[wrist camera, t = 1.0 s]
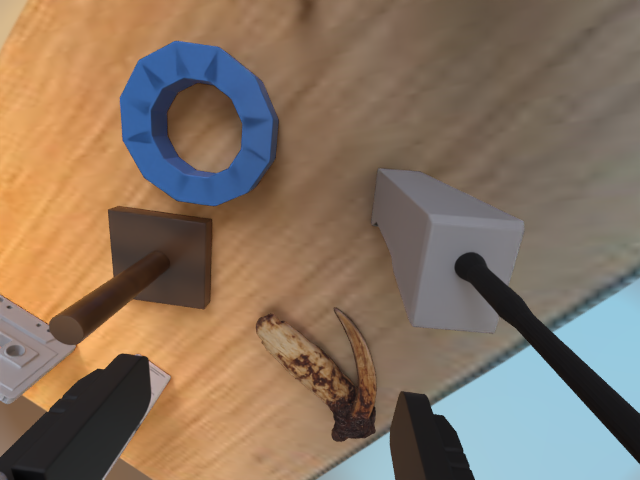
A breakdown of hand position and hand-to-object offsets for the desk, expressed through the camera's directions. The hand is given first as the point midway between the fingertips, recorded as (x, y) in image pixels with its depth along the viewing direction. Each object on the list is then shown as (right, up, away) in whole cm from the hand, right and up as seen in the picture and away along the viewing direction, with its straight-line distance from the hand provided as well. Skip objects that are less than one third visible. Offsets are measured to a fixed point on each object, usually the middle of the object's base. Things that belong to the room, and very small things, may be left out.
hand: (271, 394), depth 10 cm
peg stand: (-14, +3, +22) cm, 26 cm away
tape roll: (-8, +14, +18) cm, 24 cm away
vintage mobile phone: (+8, +9, +19) cm, 22 cm away
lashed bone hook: (+3, -8, +25) cm, 26 cm away
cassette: (-30, -4, +25) cm, 40 cm away
